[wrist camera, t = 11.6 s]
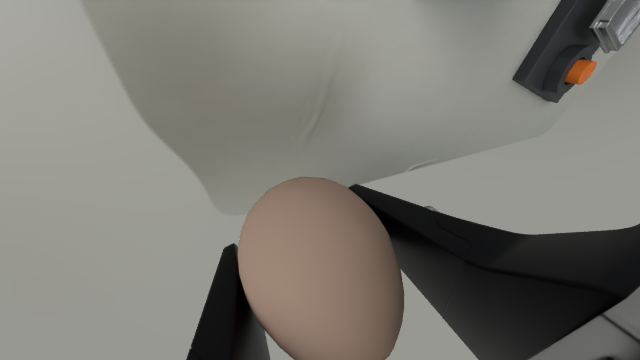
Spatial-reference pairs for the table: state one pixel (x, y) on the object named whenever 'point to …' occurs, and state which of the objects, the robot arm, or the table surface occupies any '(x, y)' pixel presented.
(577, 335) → the robot arm
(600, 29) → the brushed steel platform
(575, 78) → the button
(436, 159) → the table surface
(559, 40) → the scale
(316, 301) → the egg
